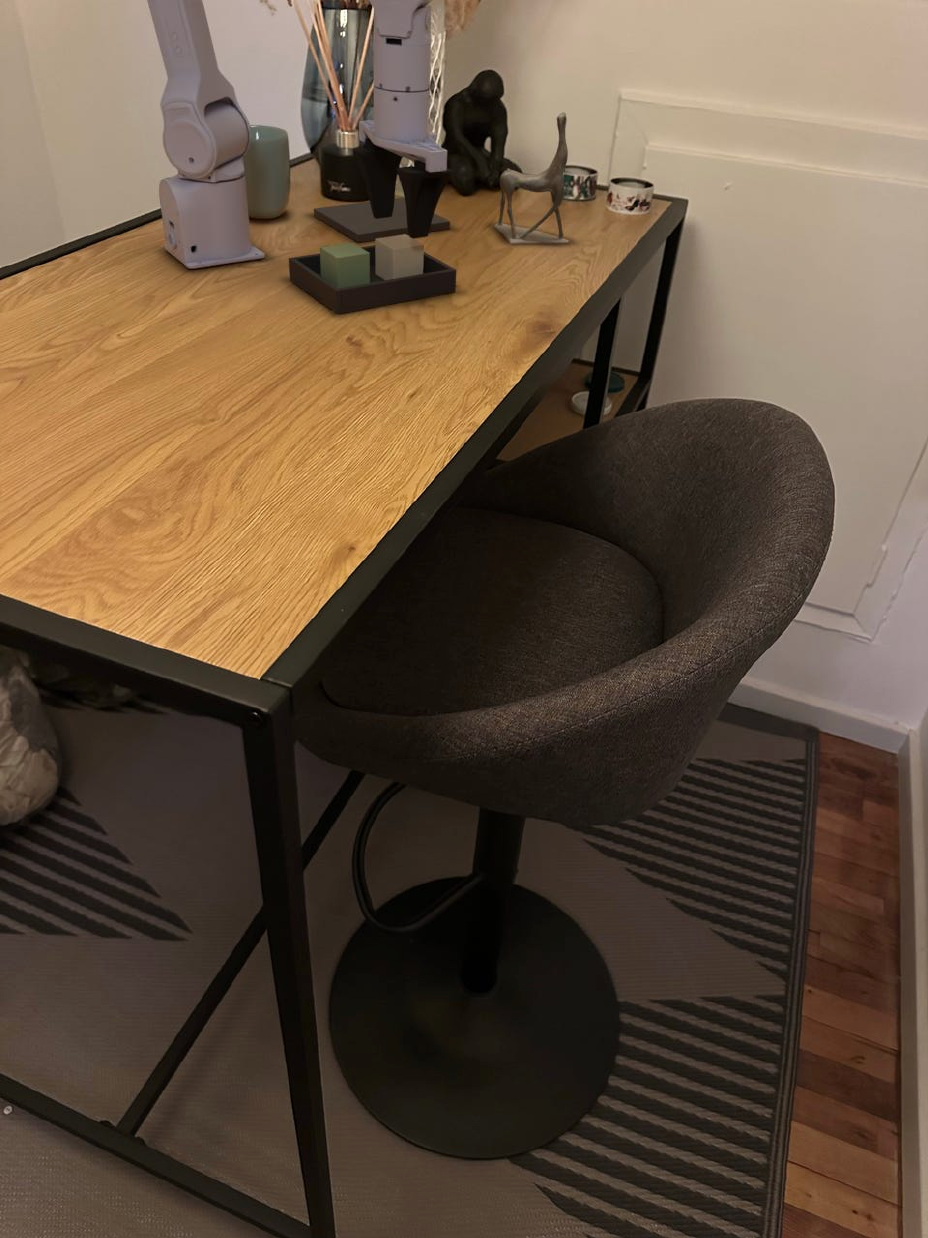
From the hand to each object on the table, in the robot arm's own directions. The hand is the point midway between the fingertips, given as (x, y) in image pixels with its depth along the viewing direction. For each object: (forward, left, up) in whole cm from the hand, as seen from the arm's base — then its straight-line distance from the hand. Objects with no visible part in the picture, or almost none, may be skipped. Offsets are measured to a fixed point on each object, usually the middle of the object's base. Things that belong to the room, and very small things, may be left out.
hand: (400, 226), depth 101 cm
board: (+9, +20, -6) cm, 23 cm away
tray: (-4, 0, -6) cm, 7 cm away
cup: (-4, +29, -6) cm, 30 cm away
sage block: (-7, 0, -6) cm, 9 cm away
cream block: (0, 0, -6) cm, 6 cm away
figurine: (+23, +7, -6) cm, 25 cm away
